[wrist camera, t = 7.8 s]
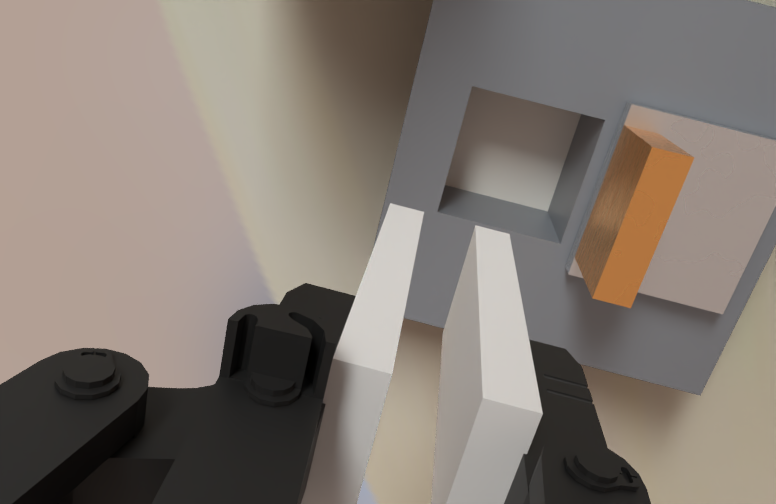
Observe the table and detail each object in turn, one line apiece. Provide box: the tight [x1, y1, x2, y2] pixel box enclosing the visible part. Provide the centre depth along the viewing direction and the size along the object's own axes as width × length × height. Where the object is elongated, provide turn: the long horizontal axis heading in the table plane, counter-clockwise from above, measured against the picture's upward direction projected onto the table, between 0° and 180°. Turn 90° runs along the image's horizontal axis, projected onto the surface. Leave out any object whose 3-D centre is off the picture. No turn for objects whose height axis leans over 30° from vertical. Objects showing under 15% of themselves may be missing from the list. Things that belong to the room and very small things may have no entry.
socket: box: [373, 0, 776, 395], centre depth 29 cm, size 16×16×5 cm
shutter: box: [566, 101, 776, 314], centre depth 24 cm, size 7×7×5 cm
